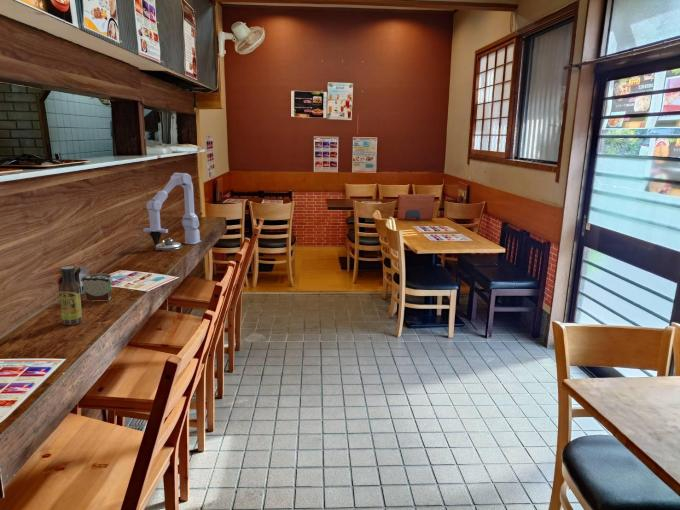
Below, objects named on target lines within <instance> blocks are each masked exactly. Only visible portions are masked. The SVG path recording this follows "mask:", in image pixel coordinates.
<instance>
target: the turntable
mask: <svg viewBox="0 0 680 510" xmlns="http://www.w3.org/2000/svg"><path fill="white" fill-rule="evenodd" d="M181 245H182V243H181V242H176V241H173V245H165V243H164V239H163V240H161V241H160V242H159V244H158V245H155V247H156V248H159V249H173V248H178V247H181Z"/></svg>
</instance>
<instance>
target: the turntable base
mask: <svg viewBox="0 0 680 510" xmlns="http://www.w3.org/2000/svg"><path fill="white" fill-rule="evenodd" d="M181 248H182V249H183V245H182V244H181V247H178V248H173V249H159V248H156V246H155V248H154V249H155V251H158V250H162V251H161V252H171V251H170V250H175V251H178V250H177V249H179V250H182V249H181Z"/></svg>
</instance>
